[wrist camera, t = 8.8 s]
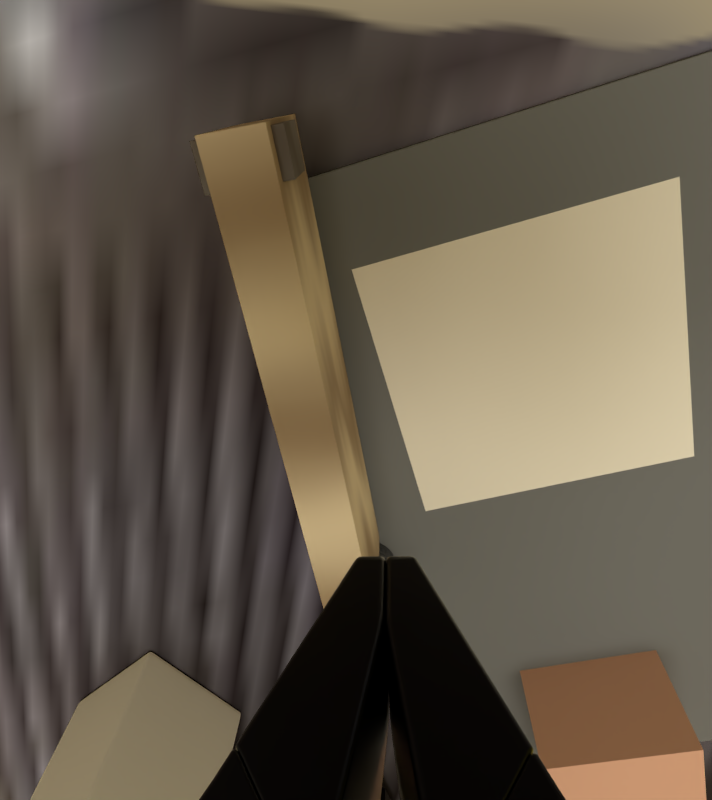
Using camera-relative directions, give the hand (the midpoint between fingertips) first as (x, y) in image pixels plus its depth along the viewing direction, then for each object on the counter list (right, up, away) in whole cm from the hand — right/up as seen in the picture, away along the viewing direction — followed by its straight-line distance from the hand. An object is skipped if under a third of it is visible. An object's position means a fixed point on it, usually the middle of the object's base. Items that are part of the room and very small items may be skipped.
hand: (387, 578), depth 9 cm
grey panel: (+8, -2, +15) cm, 17 cm away
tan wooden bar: (-2, +4, +12) cm, 12 cm away
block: (+11, -12, +20) cm, 25 cm away
